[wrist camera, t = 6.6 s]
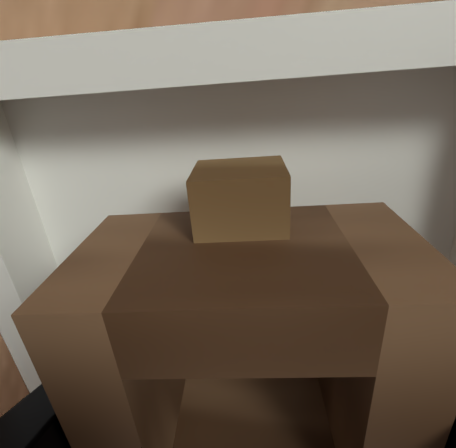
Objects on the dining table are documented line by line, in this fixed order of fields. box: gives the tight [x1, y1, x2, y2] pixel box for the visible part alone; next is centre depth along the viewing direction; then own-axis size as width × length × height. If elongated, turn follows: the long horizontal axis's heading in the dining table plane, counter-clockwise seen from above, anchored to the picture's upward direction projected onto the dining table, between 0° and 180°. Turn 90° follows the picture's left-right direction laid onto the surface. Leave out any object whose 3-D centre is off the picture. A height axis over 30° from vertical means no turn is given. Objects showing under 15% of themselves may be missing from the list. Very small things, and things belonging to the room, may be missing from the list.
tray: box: [0, 0, 456, 393], centre depth 10 cm, size 14×14×2 cm
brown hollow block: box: [11, 155, 456, 448], centre depth 7 cm, size 8×6×4 cm
